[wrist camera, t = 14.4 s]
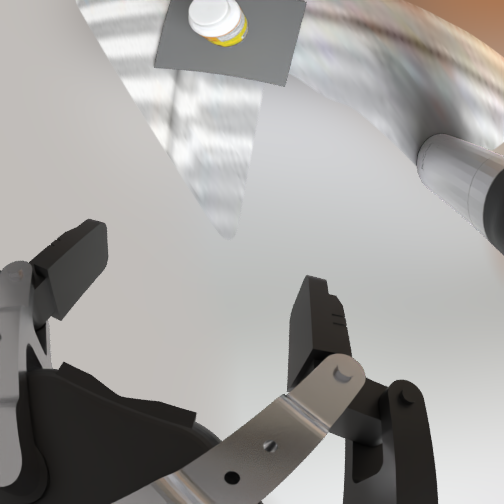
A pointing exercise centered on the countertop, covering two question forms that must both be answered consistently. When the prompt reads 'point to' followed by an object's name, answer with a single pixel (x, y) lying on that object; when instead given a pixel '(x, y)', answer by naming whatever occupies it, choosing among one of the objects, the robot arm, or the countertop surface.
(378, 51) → the countertop surface
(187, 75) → the countertop surface
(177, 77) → the countertop surface
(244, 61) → the mat
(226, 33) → the supplement bottle
